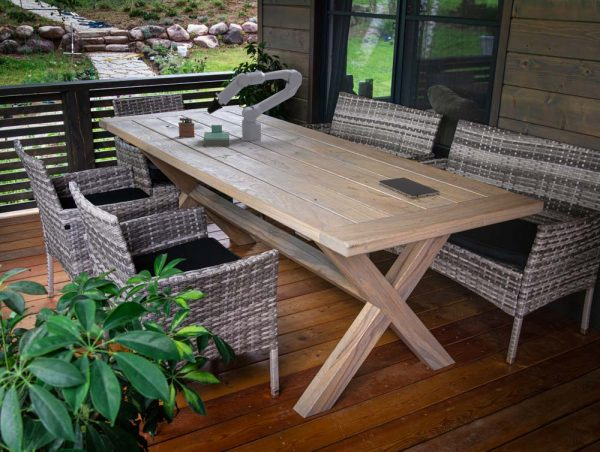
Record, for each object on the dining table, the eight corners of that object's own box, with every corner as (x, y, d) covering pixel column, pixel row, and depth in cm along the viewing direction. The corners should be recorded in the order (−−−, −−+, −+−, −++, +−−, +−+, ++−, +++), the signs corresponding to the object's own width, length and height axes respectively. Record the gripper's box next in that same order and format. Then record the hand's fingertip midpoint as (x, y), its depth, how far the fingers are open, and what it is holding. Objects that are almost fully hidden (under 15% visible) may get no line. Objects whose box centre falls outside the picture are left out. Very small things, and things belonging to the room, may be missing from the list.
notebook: (439, 195, 239) (403, 180, 256) (439, 191, 238) (404, 177, 256) (412, 199, 233) (377, 184, 250) (412, 195, 232) (378, 180, 250)
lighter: (195, 137, 322) (195, 117, 318) (194, 138, 318) (193, 118, 315) (180, 136, 322) (179, 116, 319) (178, 138, 319) (177, 118, 316)
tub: (229, 140, 316) (229, 133, 315) (229, 147, 303) (229, 139, 302) (204, 140, 315) (204, 133, 314) (203, 147, 302) (203, 139, 301)
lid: (229, 135, 315) (229, 124, 313) (229, 141, 302) (229, 130, 300) (204, 135, 314) (204, 125, 312) (203, 142, 301) (203, 130, 299)
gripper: (222, 85, 315) (202, 104, 316) (223, 87, 301) (202, 107, 303) (232, 96, 317) (212, 114, 318) (233, 99, 303) (212, 118, 305)
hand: (208, 111), depth 311 cm, fingers open, 7 cm apart
